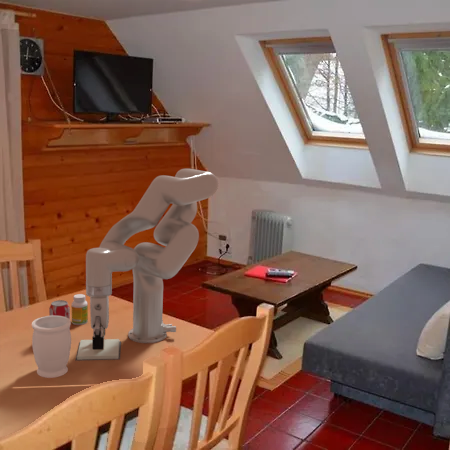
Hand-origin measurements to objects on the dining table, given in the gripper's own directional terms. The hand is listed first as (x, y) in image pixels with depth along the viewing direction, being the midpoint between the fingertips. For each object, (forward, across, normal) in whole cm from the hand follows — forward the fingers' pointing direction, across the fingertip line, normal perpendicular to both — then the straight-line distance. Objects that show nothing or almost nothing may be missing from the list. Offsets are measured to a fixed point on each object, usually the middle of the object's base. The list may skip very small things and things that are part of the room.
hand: (99, 342), depth 172 cm
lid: (+3, 0, 0) cm, 3 cm away
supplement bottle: (+3, +24, +8) cm, 26 cm away
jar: (+3, -12, +12) cm, 18 cm away
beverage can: (+3, +11, +13) cm, 17 cm away
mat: (+3, 0, 0) cm, 3 cm away
